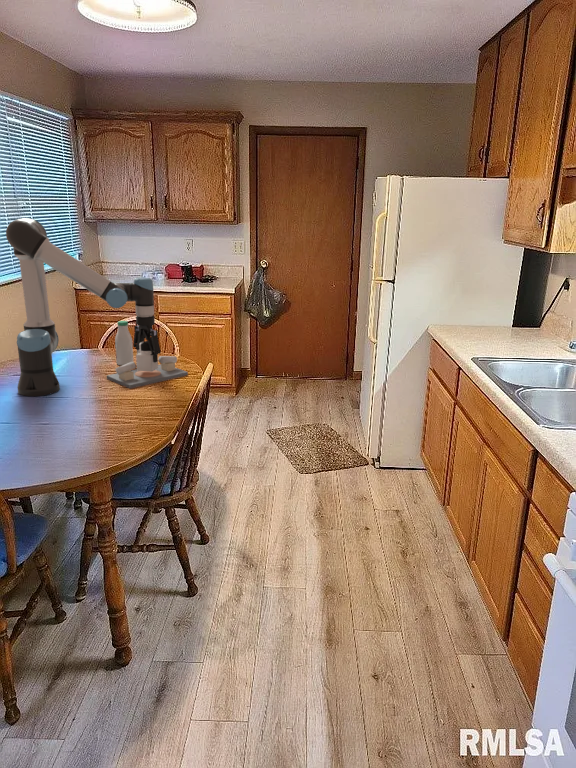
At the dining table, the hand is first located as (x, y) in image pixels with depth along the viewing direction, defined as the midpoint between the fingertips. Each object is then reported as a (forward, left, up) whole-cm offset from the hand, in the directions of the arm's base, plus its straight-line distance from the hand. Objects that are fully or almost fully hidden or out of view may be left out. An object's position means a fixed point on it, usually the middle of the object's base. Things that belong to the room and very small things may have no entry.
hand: (147, 366), depth 239 cm
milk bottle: (+4, +25, -5) cm, 26 cm away
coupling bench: (0, 0, -5) cm, 5 cm away
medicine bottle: (0, 0, -1) cm, 1 cm away
